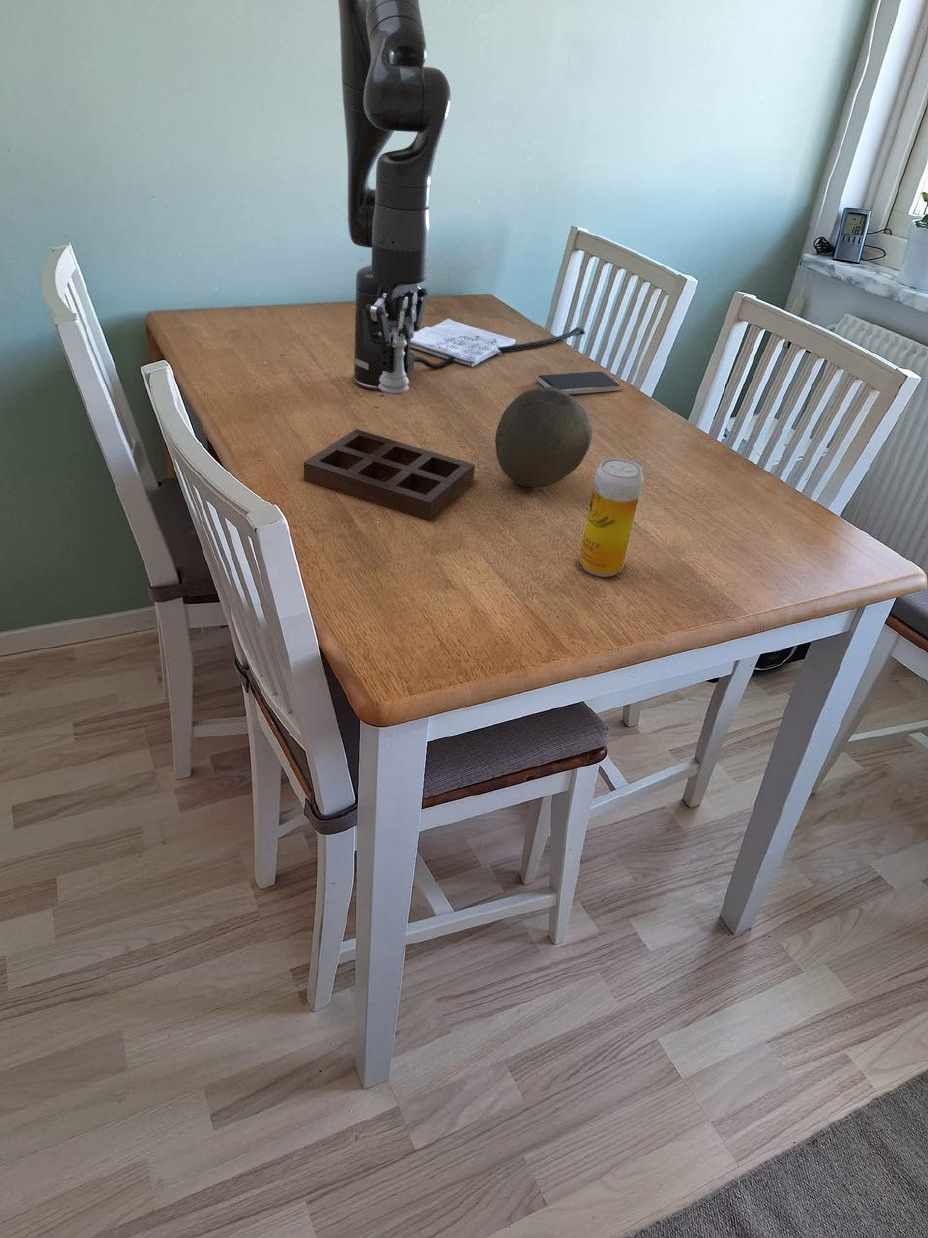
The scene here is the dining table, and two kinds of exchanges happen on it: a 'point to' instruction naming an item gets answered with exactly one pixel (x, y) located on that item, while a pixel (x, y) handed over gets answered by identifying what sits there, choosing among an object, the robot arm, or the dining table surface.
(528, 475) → the cantaloupe
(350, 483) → the open grid frame
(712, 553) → the dining table surface
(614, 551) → the beer can
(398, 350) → the rook chess piece
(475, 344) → the white paper booklet
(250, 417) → the dining table surface
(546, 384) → the smartphone
